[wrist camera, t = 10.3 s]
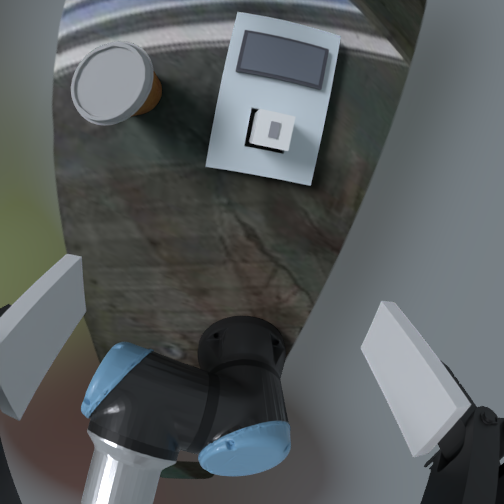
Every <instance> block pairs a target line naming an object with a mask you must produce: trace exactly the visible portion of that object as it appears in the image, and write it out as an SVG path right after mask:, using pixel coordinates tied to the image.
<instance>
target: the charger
mask: <svg viewBox="0 0 504 504" xmlns="http://www.w3.org/2000/svg"><path fill="white" fill-rule="evenodd" d="M294 122H295V116H291V115H287V114H282V113H278V112H273V111H268V110H264V109H259V110H258V111H257V112H256V113H255V114H254V119H253V124H252V129H251V134H250V139H249V142H250V143H252V144H256V145H261V146H266V147H271V148H276V149H280V150H285V151H288V150H289V145H290V141H291V136H292V131H293V127H294Z"/></svg>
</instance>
